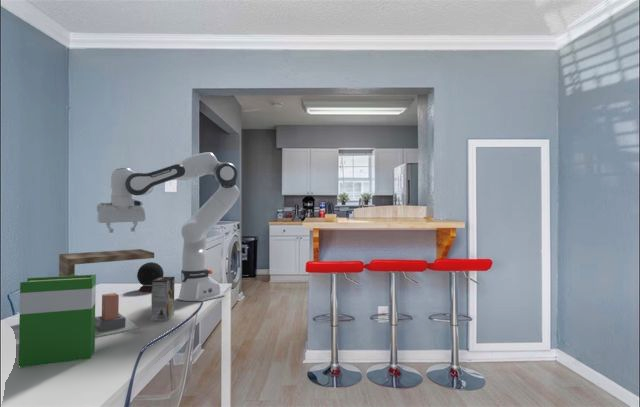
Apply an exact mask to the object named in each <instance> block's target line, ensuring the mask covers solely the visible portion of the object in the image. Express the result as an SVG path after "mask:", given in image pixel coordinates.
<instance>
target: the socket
mask: <svg viewBox="0 0 640 407" xmlns="http://www.w3.org/2000/svg"><path fill="white" fill-rule="evenodd" d="M136 330H140V326H138V325H137V324H135V323H134V322H132V321H131V320H130V319H128V318H127V317H125V316H124V315H123V314H121V313H119V312H118V318H117V319H111V320H105V321H103V320H102V315H99V316H95V339H97V338H100V337H105V336H110V335H116V334H121V333H126V332H130V331H132V332H133V331H136Z"/></svg>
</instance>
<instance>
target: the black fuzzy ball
mask: <svg viewBox="0 0 640 407" xmlns="http://www.w3.org/2000/svg"><path fill="white" fill-rule="evenodd" d="M136 276H137V281H138V282H139V284H140V285H142V286H140V287H139V289H138V292H139V291H140V293H152V281H153V280H155V279H157V278H159V277H164V269H163V268H162V266H161V265H160V264H158V263H156V262H151V261H150V262H145V263H144V264H142V265H141V266H140V267H139V269H138V270H137V273H136Z"/></svg>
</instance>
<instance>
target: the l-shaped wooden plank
mask: <svg viewBox="0 0 640 407" xmlns="http://www.w3.org/2000/svg"><path fill="white" fill-rule="evenodd" d="M58 258H59V259H58V260H59V261H58V276H76V275H75V270H76V269H75V267H76V265H83V264H84V265H85V264H95V263H96V264H97V263H109V262H123V261H133V260H135V261H136V260H147V259H154V258H155V252H152V251H149V250H146V249H141V248H138V249H137V248H136V249H122V250H121V249H120V250H118V249H117V250H106V251H105V250H104V251H92V252H91V251H90V252H73V253H59V256H58Z"/></svg>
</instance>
